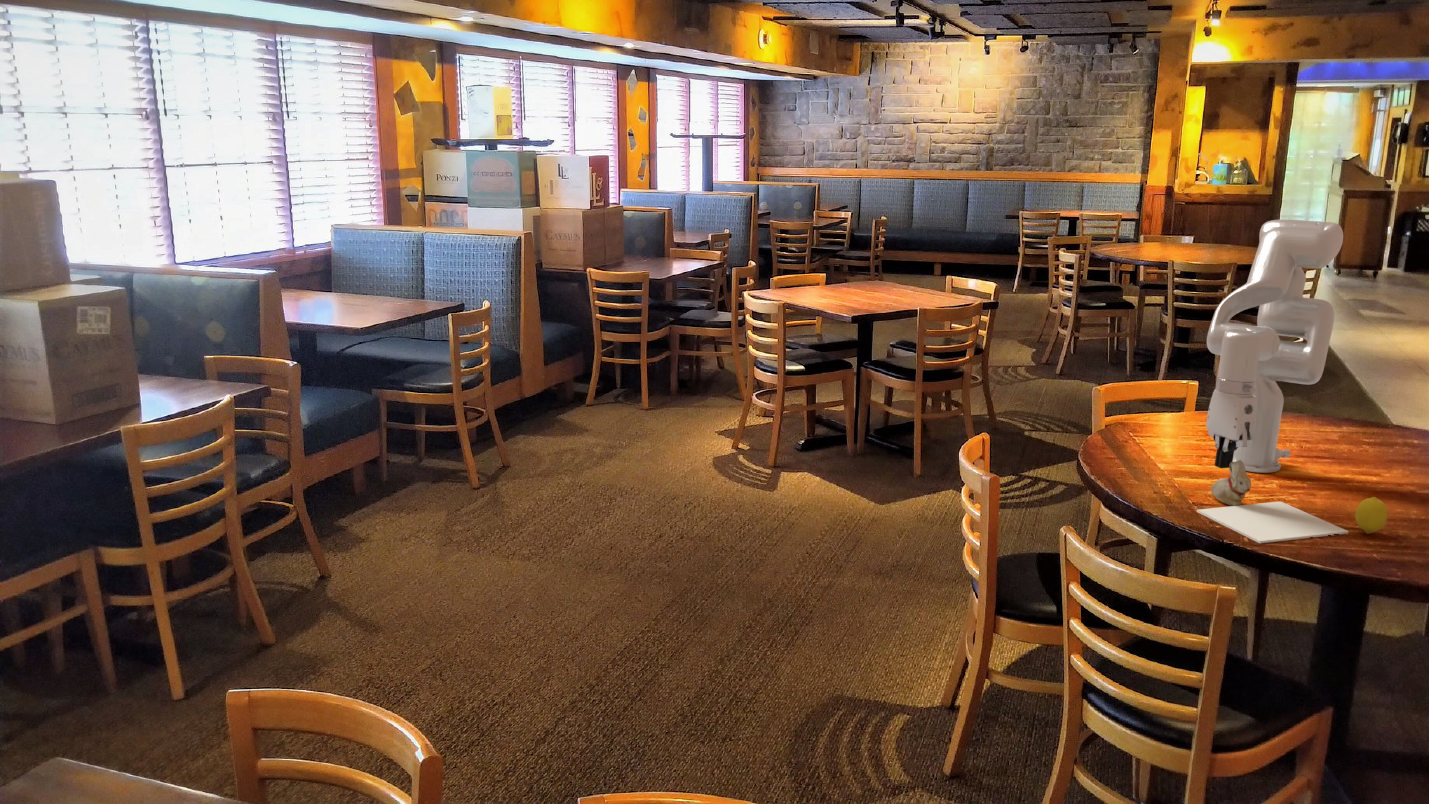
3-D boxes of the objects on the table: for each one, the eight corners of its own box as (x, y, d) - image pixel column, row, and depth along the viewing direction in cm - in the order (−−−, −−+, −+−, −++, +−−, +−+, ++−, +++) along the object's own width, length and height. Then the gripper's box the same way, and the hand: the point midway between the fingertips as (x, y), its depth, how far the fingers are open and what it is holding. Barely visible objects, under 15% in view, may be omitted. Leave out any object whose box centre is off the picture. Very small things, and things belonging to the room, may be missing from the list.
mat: (1280, 503, 229) (1280, 501, 228) (1348, 533, 212) (1348, 531, 212) (1196, 511, 223) (1196, 509, 223) (1259, 543, 206) (1260, 541, 206)
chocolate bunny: (1220, 507, 226) (1232, 468, 221) (1207, 487, 233) (1219, 449, 228) (1246, 508, 226) (1259, 470, 221) (1232, 489, 233) (1244, 451, 228)
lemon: (1346, 528, 214) (1352, 492, 212) (1371, 528, 215) (1378, 492, 213) (1364, 539, 209) (1371, 502, 207) (1390, 538, 210) (1397, 501, 207)
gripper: (1275, 394, 218) (1262, 476, 223) (1224, 378, 232) (1213, 456, 237) (1245, 395, 217) (1233, 478, 221) (1196, 379, 231) (1185, 458, 235)
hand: (1222, 466), depth 229 cm, fingers closed
